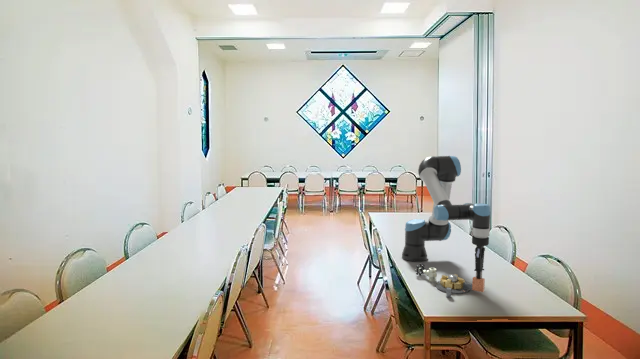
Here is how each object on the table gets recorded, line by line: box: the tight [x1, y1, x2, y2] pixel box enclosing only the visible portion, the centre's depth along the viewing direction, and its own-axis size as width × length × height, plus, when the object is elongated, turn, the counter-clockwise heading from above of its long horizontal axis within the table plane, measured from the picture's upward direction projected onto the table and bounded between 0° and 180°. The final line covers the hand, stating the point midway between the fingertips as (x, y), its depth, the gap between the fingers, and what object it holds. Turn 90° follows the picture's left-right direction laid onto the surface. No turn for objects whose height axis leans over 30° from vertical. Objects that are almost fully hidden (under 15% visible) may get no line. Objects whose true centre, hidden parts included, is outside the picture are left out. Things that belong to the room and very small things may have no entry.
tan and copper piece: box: [439, 273, 486, 293], centre depth 208 cm, size 20×11×6 cm, turn 54°
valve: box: [414, 263, 437, 283], centre depth 224 cm, size 7×7×12 cm
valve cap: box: [435, 274, 470, 295], centre depth 211 cm, size 16×16×6 cm
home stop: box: [445, 288, 452, 299], centre depth 200 cm, size 2×2×4 cm
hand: (478, 283), depth 205 cm, fingers closed
